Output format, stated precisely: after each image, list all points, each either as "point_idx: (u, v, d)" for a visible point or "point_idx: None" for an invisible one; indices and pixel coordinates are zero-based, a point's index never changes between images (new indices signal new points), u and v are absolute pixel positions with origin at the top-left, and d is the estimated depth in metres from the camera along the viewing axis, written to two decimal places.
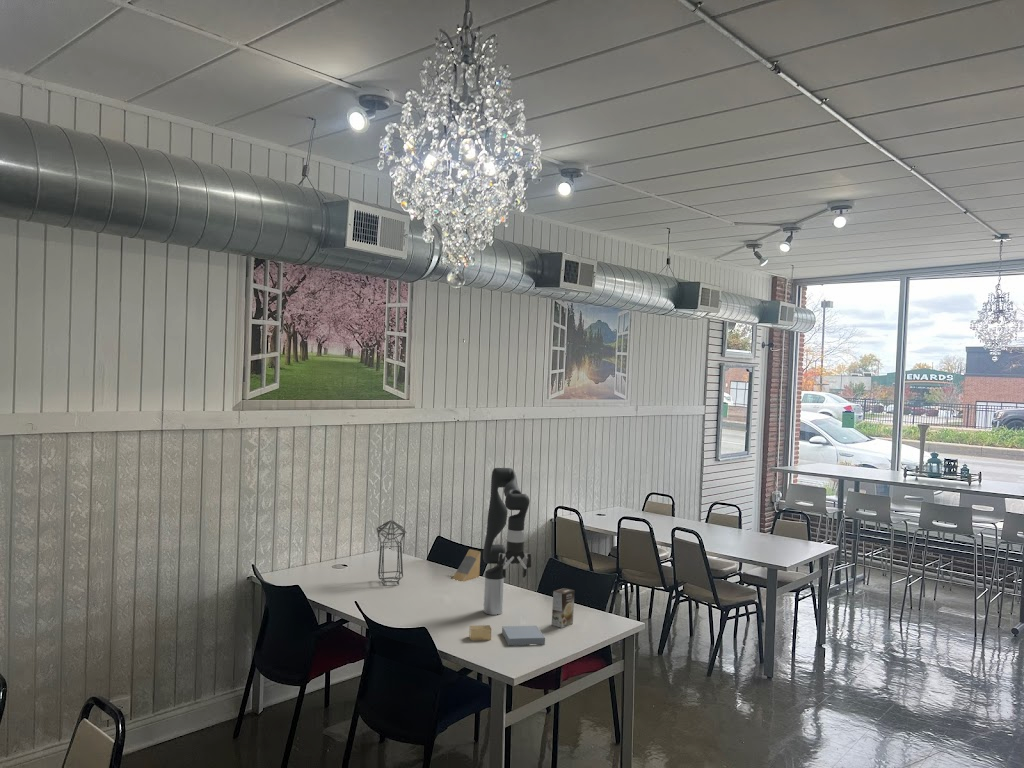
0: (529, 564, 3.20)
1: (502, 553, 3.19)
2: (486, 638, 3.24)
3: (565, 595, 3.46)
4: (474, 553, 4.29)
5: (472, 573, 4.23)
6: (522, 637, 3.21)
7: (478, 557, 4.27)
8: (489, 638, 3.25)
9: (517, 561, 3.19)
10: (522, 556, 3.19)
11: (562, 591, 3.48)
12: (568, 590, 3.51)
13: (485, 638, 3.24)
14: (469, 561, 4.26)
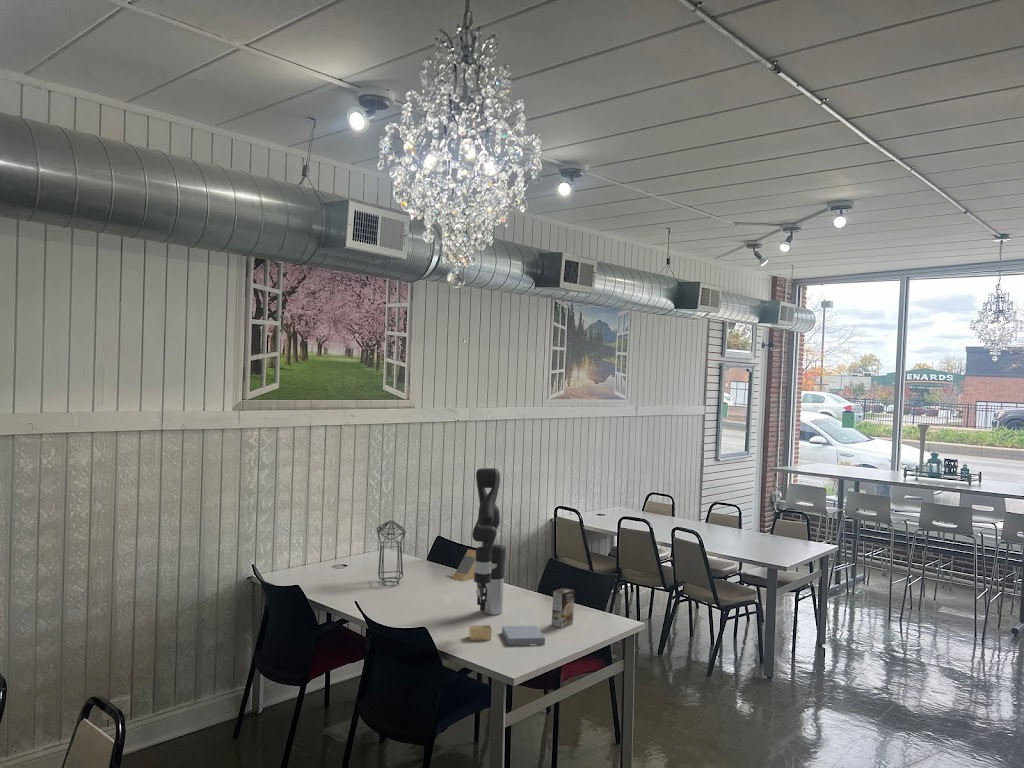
0: None
1: (483, 587, 3.21)
2: (486, 638, 3.24)
3: (565, 595, 3.46)
4: (473, 553, 4.29)
5: (471, 573, 4.23)
6: (522, 637, 3.21)
7: None
8: (489, 638, 3.25)
9: None
10: None
11: (562, 591, 3.48)
12: (568, 590, 3.51)
13: (485, 638, 3.24)
14: (468, 561, 4.26)
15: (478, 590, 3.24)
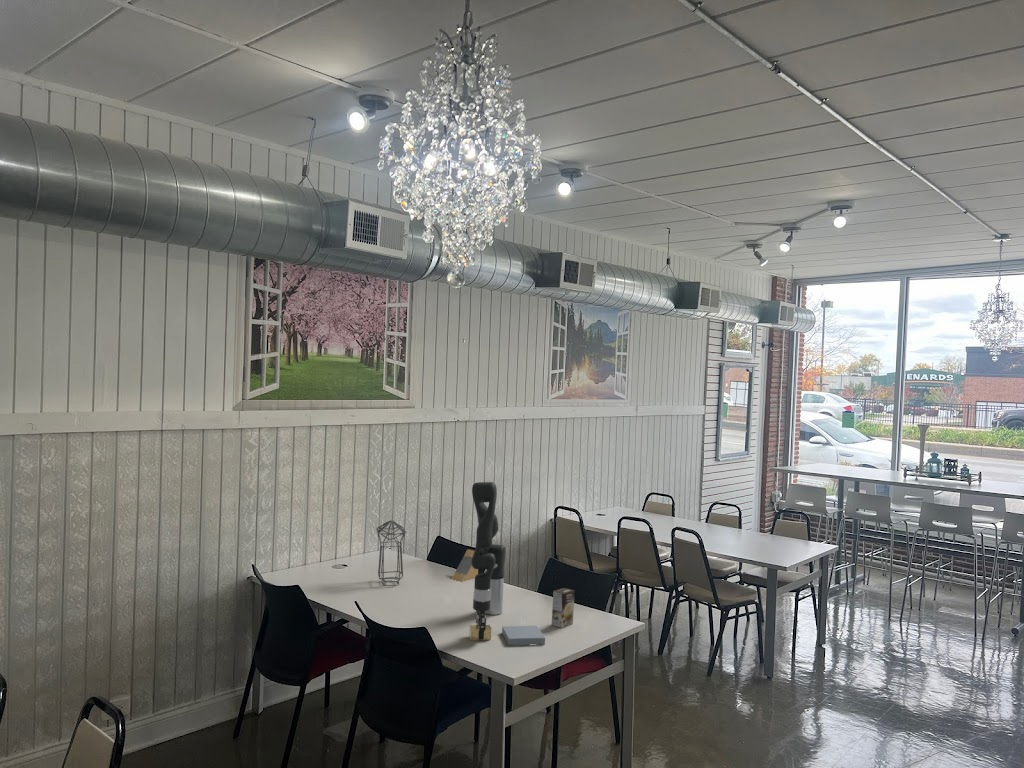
0: None
1: (482, 617, 3.21)
2: (486, 638, 3.24)
3: (565, 595, 3.46)
4: (473, 553, 4.29)
5: (471, 573, 4.23)
6: (522, 637, 3.21)
7: None
8: (489, 638, 3.25)
9: None
10: None
11: (562, 591, 3.48)
12: (568, 590, 3.51)
13: (485, 638, 3.24)
14: (468, 561, 4.25)
15: (477, 618, 3.24)
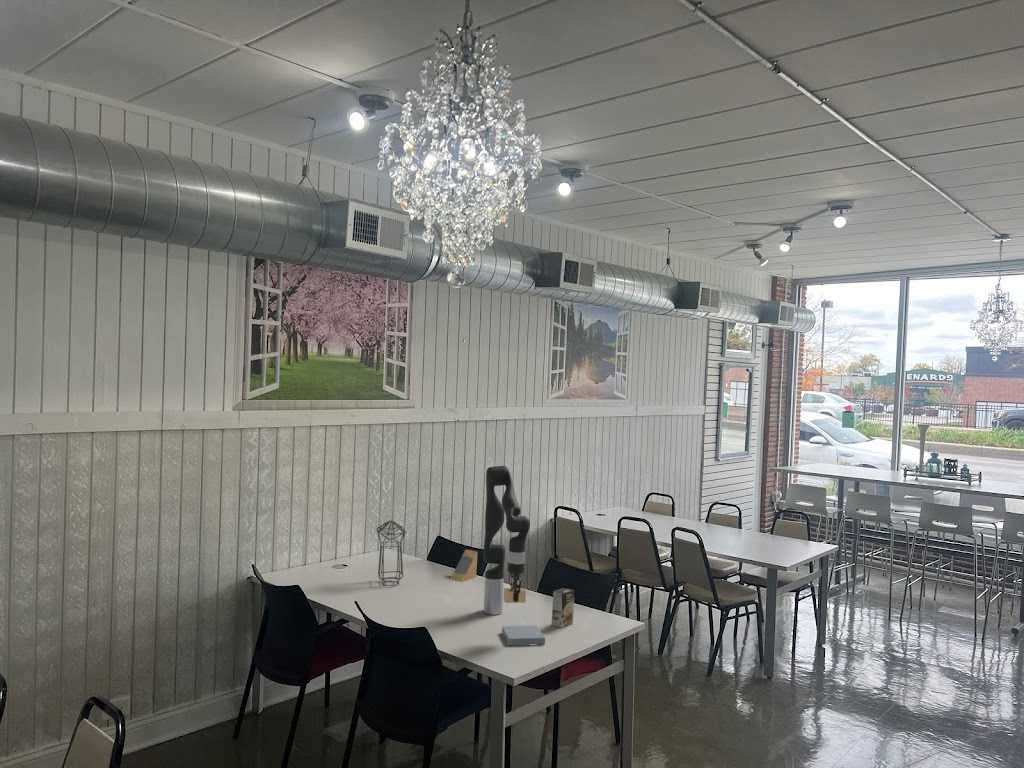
0: None
1: (516, 579, 3.22)
2: (520, 600, 3.25)
3: (565, 595, 3.46)
4: (471, 553, 4.29)
5: (469, 573, 4.23)
6: (522, 637, 3.21)
7: (475, 557, 4.27)
8: (523, 600, 3.26)
9: None
10: None
11: (562, 591, 3.48)
12: (568, 590, 3.51)
13: (519, 600, 3.25)
14: (466, 562, 4.25)
15: (512, 580, 3.26)
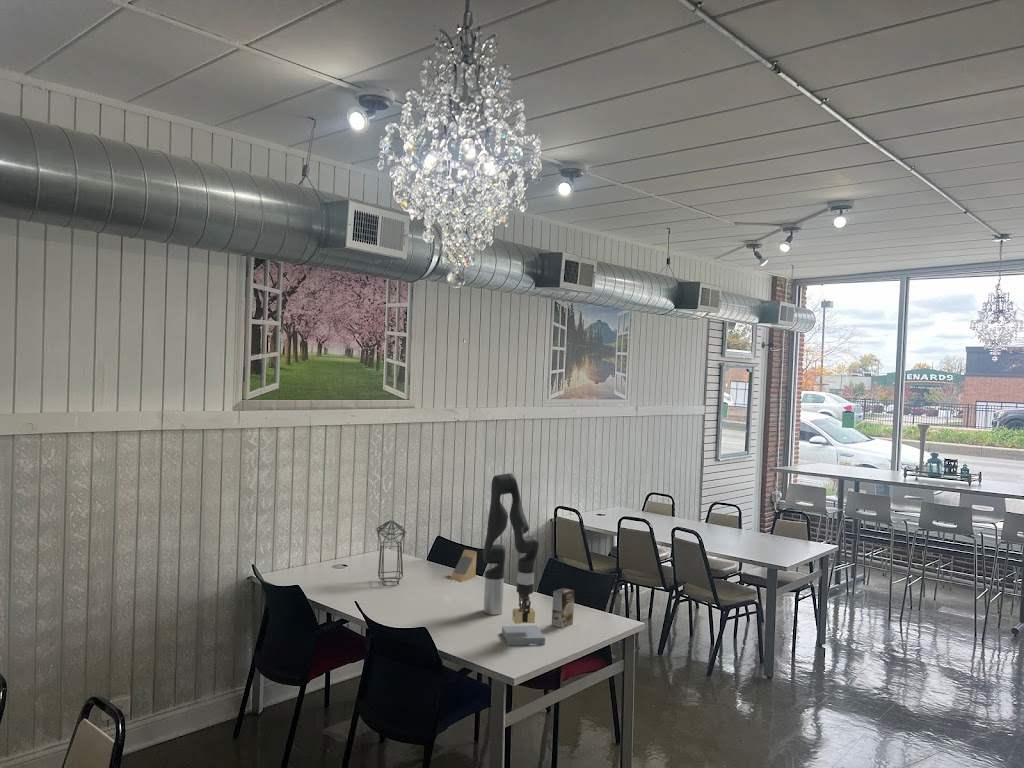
0: None
1: (526, 600, 3.23)
2: (530, 621, 3.26)
3: (565, 595, 3.46)
4: (470, 553, 4.28)
5: (469, 573, 4.23)
6: (522, 637, 3.21)
7: (474, 557, 4.27)
8: (533, 621, 3.26)
9: None
10: None
11: (562, 591, 3.48)
12: (568, 590, 3.51)
13: (529, 621, 3.26)
14: (466, 562, 4.25)
15: (521, 601, 3.26)
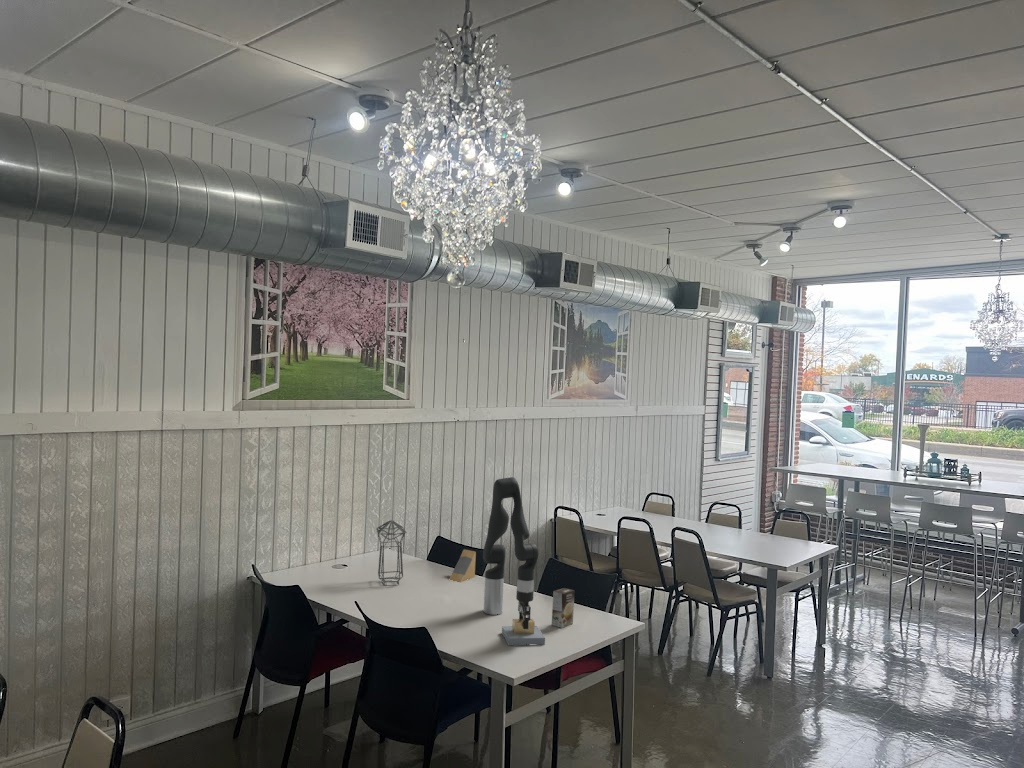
0: None
1: (526, 606, 3.23)
2: (529, 631, 3.26)
3: (565, 595, 3.46)
4: (469, 553, 4.28)
5: (468, 573, 4.22)
6: (522, 637, 3.21)
7: (473, 557, 4.27)
8: (532, 631, 3.27)
9: None
10: None
11: (562, 591, 3.48)
12: (568, 590, 3.51)
13: (528, 631, 3.26)
14: (465, 562, 4.25)
15: (521, 608, 3.26)
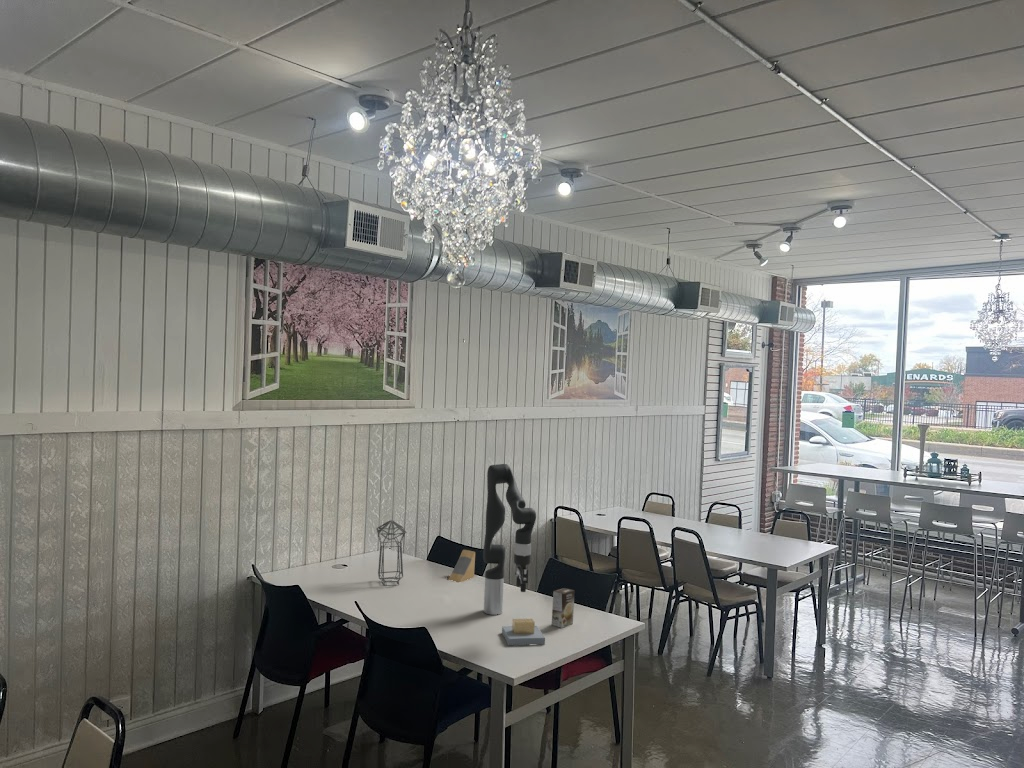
0: None
1: (523, 569, 3.24)
2: (529, 631, 3.26)
3: (565, 595, 3.46)
4: (469, 553, 4.28)
5: (468, 573, 4.22)
6: (522, 637, 3.21)
7: (473, 558, 4.26)
8: (532, 631, 3.27)
9: None
10: None
11: (562, 591, 3.48)
12: (568, 590, 3.51)
13: (528, 631, 3.26)
14: (465, 562, 4.24)
15: (518, 572, 3.27)
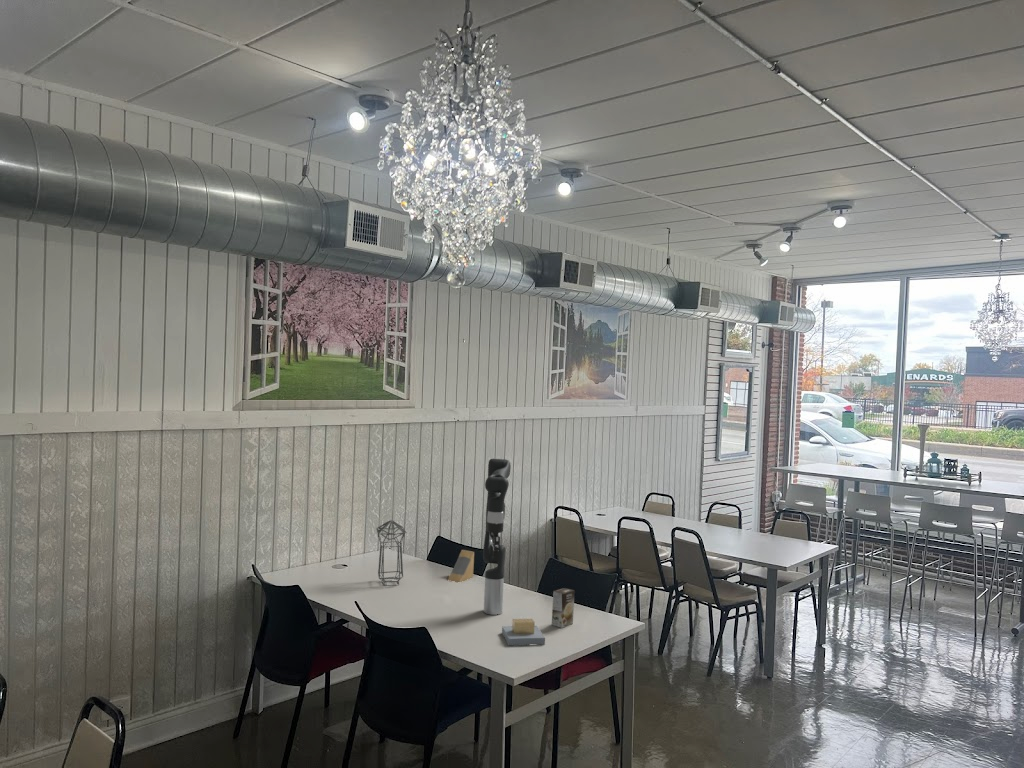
0: None
1: (495, 536, 3.30)
2: (529, 631, 3.26)
3: (565, 595, 3.46)
4: (468, 553, 4.27)
5: (467, 573, 4.22)
6: (522, 637, 3.21)
7: (472, 558, 4.26)
8: (532, 631, 3.27)
9: None
10: None
11: (562, 591, 3.48)
12: (568, 590, 3.51)
13: (528, 631, 3.26)
14: (464, 562, 4.24)
15: (491, 539, 3.33)
